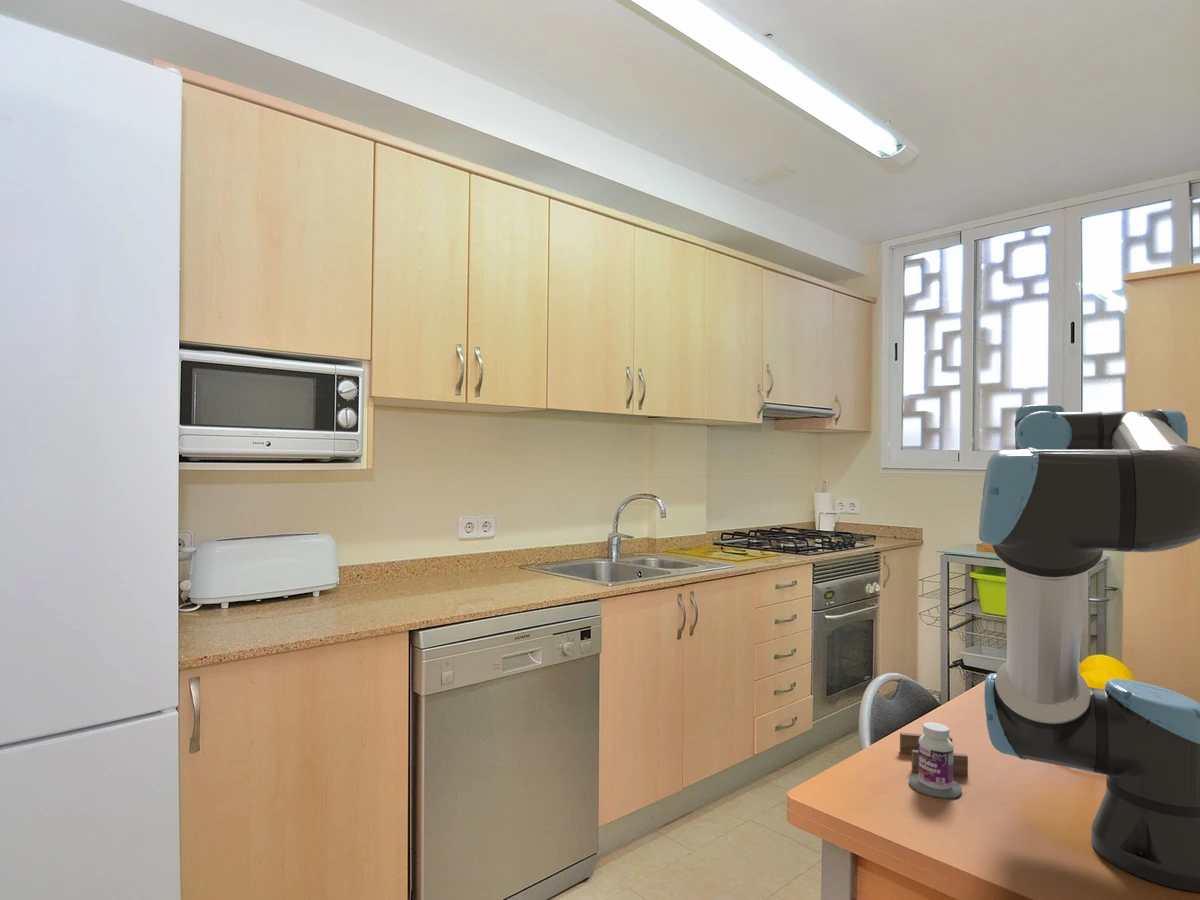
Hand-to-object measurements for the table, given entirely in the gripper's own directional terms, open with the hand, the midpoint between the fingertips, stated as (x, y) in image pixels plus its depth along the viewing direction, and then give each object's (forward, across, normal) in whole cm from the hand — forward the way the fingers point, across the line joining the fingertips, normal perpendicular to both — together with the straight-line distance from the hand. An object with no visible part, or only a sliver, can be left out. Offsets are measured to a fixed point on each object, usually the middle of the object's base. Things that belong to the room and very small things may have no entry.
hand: (1039, 611), depth 122 cm
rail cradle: (+29, +1, +18) cm, 34 cm away
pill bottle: (+28, -9, +20) cm, 36 cm away
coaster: (+29, -9, +20) cm, 36 cm away
